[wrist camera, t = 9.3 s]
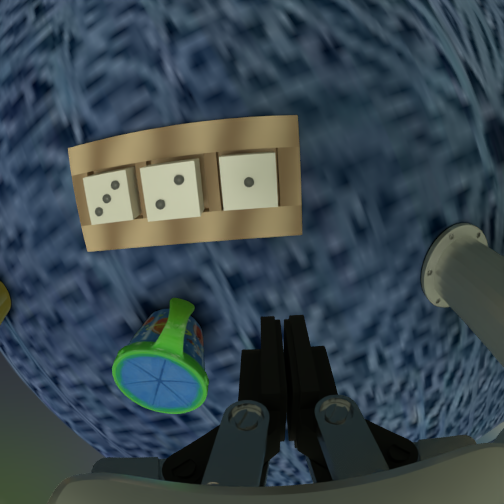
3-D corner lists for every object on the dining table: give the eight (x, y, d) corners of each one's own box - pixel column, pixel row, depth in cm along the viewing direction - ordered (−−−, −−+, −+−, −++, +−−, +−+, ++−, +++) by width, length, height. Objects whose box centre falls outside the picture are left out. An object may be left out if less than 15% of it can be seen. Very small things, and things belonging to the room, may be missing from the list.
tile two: (199, 158, 27) (193, 160, 24) (204, 208, 28) (200, 217, 26) (149, 164, 27) (139, 168, 24) (156, 213, 29) (147, 222, 26)
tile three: (135, 166, 28) (124, 170, 25) (142, 212, 30) (132, 220, 27) (94, 173, 28) (81, 178, 25) (102, 217, 30) (90, 225, 27)
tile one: (272, 151, 28) (275, 153, 25) (275, 200, 30) (278, 207, 27) (221, 155, 28) (218, 157, 25) (225, 204, 30) (223, 211, 27)
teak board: (294, 116, 27) (297, 115, 25) (298, 228, 32) (302, 234, 30) (77, 146, 27) (68, 148, 26) (95, 245, 32) (87, 251, 30)
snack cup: (191, 378, 40) (181, 433, 31) (125, 350, 38) (102, 402, 29) (237, 301, 35) (235, 359, 26) (156, 264, 33) (127, 314, 24)
